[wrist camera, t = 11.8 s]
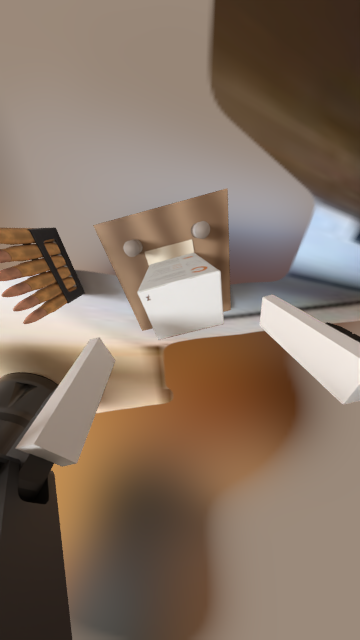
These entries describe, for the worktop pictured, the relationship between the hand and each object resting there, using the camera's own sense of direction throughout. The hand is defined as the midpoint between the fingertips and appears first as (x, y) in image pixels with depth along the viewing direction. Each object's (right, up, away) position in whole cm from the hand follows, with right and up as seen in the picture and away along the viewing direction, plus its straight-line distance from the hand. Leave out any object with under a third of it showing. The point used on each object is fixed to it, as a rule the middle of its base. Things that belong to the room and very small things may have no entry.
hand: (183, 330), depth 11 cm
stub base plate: (-1, +10, +15) cm, 18 cm away
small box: (-1, +9, +14) cm, 17 cm away
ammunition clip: (-20, +11, +13) cm, 26 cm away
